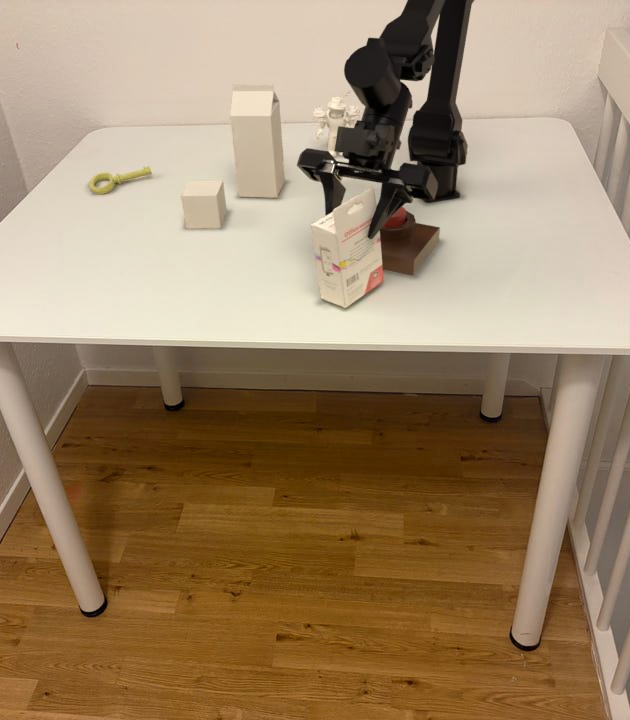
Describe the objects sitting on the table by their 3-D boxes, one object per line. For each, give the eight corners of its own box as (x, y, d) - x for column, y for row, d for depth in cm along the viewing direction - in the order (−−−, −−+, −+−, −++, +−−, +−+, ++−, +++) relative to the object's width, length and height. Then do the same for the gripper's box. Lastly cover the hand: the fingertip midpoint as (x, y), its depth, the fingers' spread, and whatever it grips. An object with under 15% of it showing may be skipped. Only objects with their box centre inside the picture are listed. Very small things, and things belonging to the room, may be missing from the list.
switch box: (363, 227, 119) (363, 202, 117) (438, 242, 114) (440, 216, 111) (333, 259, 112) (333, 233, 109) (413, 276, 106) (414, 249, 104)
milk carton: (277, 198, 130) (268, 91, 118) (239, 197, 131) (226, 91, 120) (285, 182, 135) (277, 77, 124) (248, 181, 137) (237, 77, 125)
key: (156, 178, 140) (154, 167, 139) (96, 196, 136) (93, 186, 134) (141, 167, 145) (139, 156, 144) (83, 184, 140) (80, 174, 139)
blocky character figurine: (359, 148, 146) (359, 88, 138) (360, 156, 142) (360, 94, 135) (314, 151, 146) (311, 91, 139) (314, 159, 143) (312, 97, 136)
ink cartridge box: (358, 272, 107) (349, 178, 98) (384, 281, 104) (378, 185, 95) (318, 298, 102) (306, 202, 94) (344, 309, 99) (334, 211, 90)
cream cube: (227, 212, 127) (223, 180, 123) (220, 228, 122) (216, 195, 119) (193, 212, 128) (188, 180, 124) (186, 228, 123) (180, 195, 119)
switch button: (385, 213, 114) (385, 203, 113) (409, 217, 112) (409, 207, 111) (375, 224, 111) (375, 214, 110) (399, 229, 110) (400, 218, 108)
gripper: (298, 89, 95) (264, 202, 94) (435, 104, 87) (398, 227, 86) (327, 126, 105) (296, 228, 104) (452, 143, 97) (419, 253, 97)
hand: (348, 234), depth 98 cm, fingers closed on ink cartridge box, 6 cm apart
